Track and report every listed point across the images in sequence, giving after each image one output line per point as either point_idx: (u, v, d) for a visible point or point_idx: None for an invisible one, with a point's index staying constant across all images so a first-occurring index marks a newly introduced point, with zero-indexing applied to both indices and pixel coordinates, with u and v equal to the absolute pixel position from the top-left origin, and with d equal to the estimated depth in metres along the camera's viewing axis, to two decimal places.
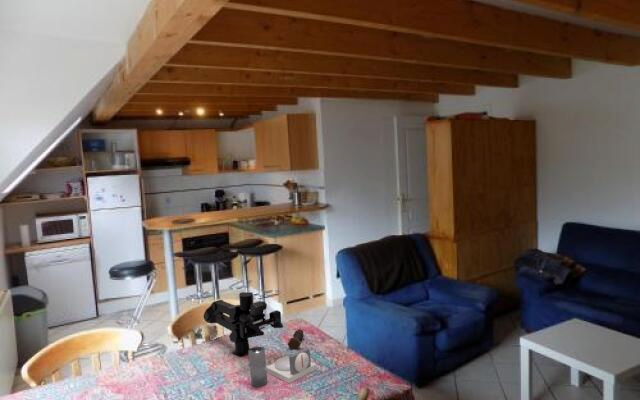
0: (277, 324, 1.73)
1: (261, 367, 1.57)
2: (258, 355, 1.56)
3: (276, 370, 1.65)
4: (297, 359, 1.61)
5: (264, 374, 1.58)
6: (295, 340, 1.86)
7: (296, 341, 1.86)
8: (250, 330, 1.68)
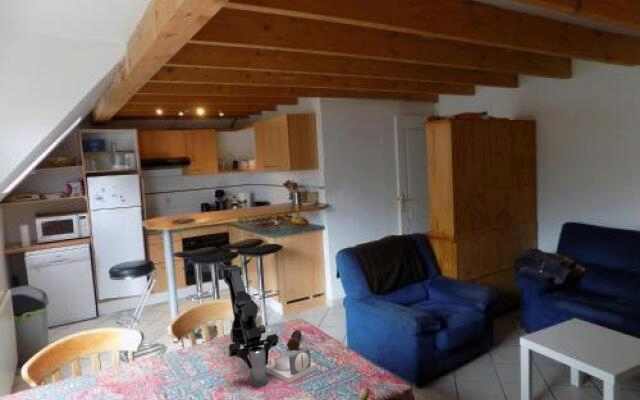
0: (265, 355, 1.62)
1: (261, 367, 1.57)
2: (258, 355, 1.56)
3: (276, 370, 1.65)
4: (297, 359, 1.61)
5: (264, 374, 1.58)
6: (294, 341, 1.86)
7: (295, 342, 1.86)
8: (241, 353, 1.60)
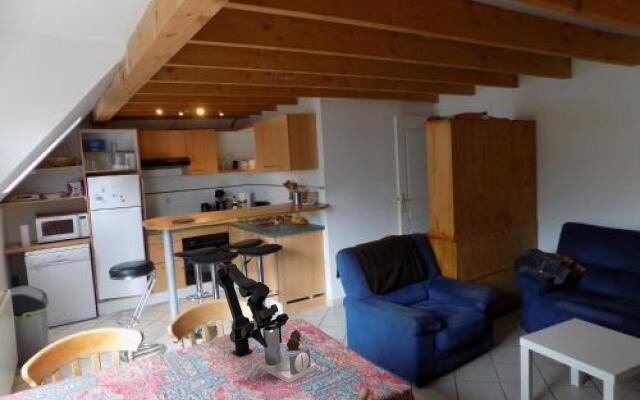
0: None
1: (277, 345, 1.61)
2: (275, 334, 1.60)
3: (276, 370, 1.65)
4: (297, 359, 1.61)
5: (279, 352, 1.62)
6: (294, 341, 1.86)
7: (295, 342, 1.86)
8: (255, 333, 1.62)
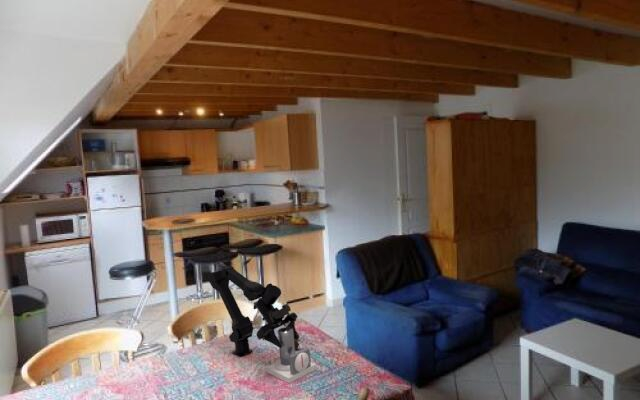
0: None
1: (293, 344, 1.67)
2: (291, 334, 1.66)
3: (276, 370, 1.65)
4: (297, 359, 1.61)
5: (294, 351, 1.68)
6: (294, 341, 1.85)
7: (295, 342, 1.85)
8: (268, 335, 1.65)
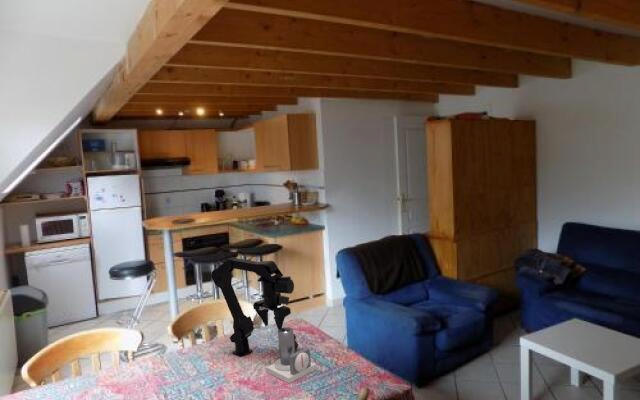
0: (265, 317, 1.82)
1: (293, 345, 1.67)
2: (291, 334, 1.66)
3: (276, 370, 1.65)
4: (297, 359, 1.61)
5: (294, 351, 1.68)
6: None
7: (294, 342, 1.85)
8: None
